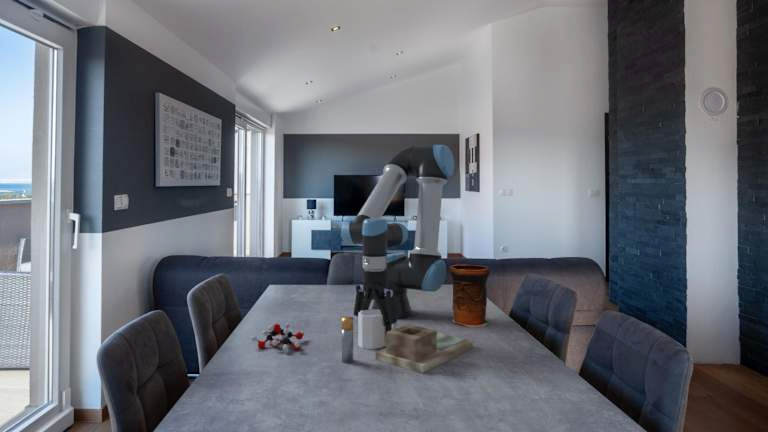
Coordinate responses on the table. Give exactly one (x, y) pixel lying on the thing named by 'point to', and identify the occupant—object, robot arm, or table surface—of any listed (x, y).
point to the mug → (370, 329)
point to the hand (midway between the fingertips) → (374, 342)
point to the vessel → (469, 294)
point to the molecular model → (285, 337)
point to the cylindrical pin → (347, 339)
